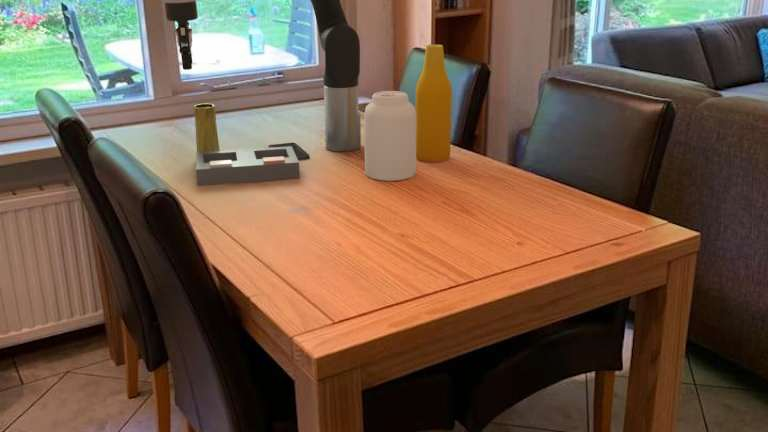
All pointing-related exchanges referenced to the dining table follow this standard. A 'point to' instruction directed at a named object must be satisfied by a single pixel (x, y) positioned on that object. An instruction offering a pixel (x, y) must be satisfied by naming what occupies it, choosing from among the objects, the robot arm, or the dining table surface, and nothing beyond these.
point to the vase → (206, 128)
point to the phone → (297, 150)
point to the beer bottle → (433, 108)
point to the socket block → (246, 165)
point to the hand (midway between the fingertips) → (187, 66)
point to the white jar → (390, 137)
